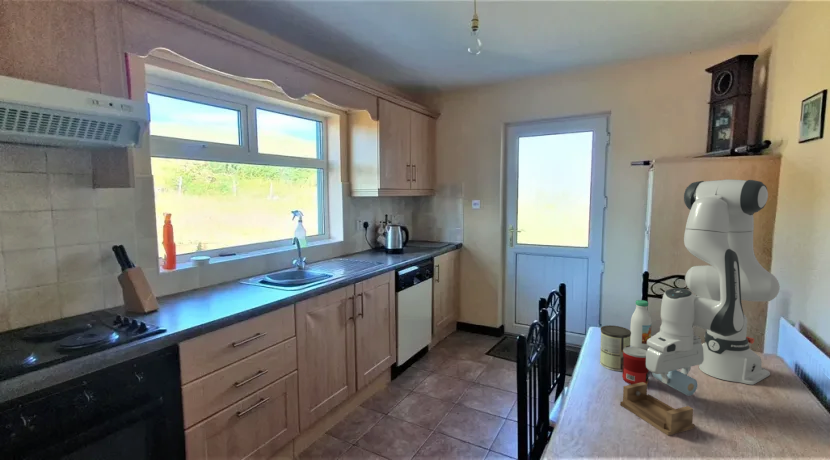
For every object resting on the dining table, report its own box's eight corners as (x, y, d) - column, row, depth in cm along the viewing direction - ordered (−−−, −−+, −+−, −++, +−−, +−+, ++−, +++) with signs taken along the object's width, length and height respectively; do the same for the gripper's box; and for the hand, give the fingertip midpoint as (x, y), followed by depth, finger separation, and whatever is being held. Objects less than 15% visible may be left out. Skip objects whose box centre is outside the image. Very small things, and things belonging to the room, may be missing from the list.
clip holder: (644, 399, 122) (645, 381, 121) (694, 428, 107) (695, 408, 106) (620, 404, 119) (620, 386, 118) (668, 435, 104) (669, 414, 103)
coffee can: (601, 357, 153) (602, 323, 152) (630, 363, 147) (632, 328, 146) (597, 367, 144) (599, 331, 143) (628, 374, 139) (630, 336, 137)
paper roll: (665, 376, 129) (665, 361, 128) (697, 393, 118) (697, 376, 117) (652, 380, 127) (652, 364, 127) (683, 397, 117) (683, 380, 116)
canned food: (652, 387, 129) (653, 356, 128) (626, 385, 131) (627, 354, 130) (643, 376, 136) (644, 347, 135) (619, 375, 138) (620, 346, 137)
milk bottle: (633, 349, 159) (635, 303, 157) (626, 342, 167) (628, 298, 165) (653, 350, 158) (656, 304, 156) (645, 343, 166) (647, 299, 164)
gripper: (691, 331, 126) (689, 370, 128) (642, 340, 121) (641, 381, 123) (710, 338, 120) (708, 379, 122) (660, 348, 115) (658, 391, 117)
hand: (674, 380), depth 122 cm, fingers closed on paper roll, 6 cm apart
